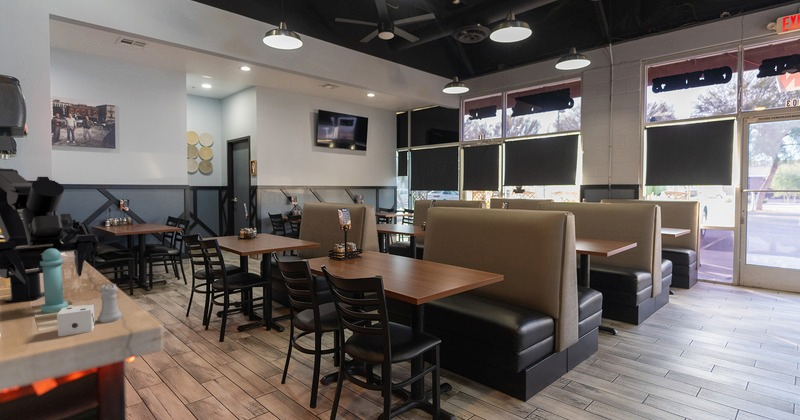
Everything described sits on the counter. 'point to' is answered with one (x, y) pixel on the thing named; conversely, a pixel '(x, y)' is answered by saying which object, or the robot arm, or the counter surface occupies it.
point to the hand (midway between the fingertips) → (54, 278)
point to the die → (76, 320)
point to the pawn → (52, 282)
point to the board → (46, 317)
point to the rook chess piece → (109, 304)
